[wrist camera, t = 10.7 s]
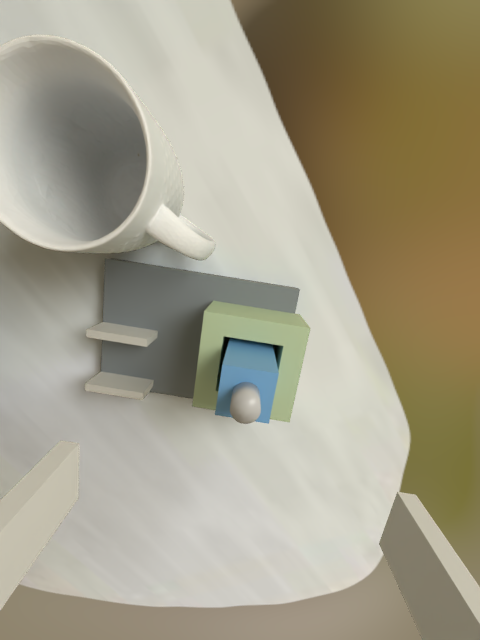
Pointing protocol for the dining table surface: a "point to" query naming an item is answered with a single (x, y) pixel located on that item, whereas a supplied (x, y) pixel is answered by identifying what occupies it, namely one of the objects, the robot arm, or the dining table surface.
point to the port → (253, 326)
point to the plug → (247, 381)
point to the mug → (85, 156)
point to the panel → (165, 324)
